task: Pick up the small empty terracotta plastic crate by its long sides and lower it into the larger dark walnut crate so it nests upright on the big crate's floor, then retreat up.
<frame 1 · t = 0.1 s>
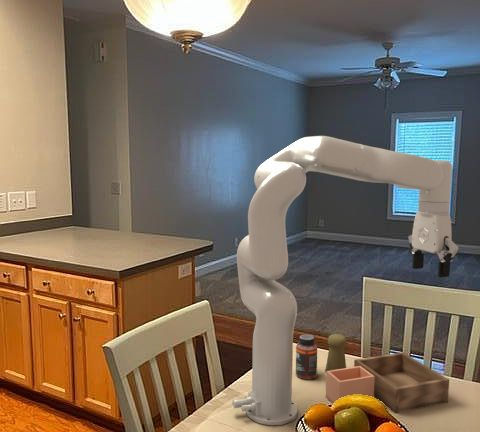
hand: (430, 272, 128), 31 cm above the table, fingers open, 9 cm apart
small crate: (349, 400, 123), on the table
olive green pawn: (335, 373, 139), on the table
supplement bottle: (306, 376, 137), on the table
big crate: (398, 390, 128), on the table
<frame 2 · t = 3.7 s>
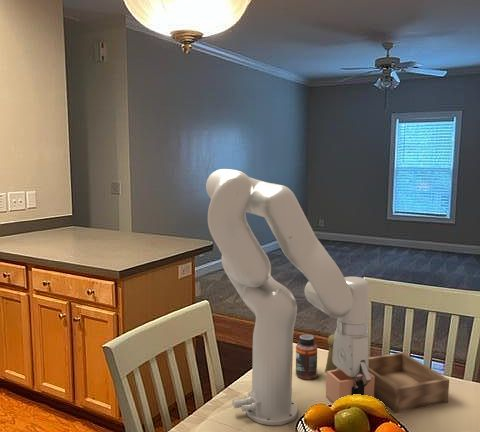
hand: (349, 394, 123), 1 cm above the table, fingers closed on small crate, 6 cm apart
small crate: (349, 400, 123), on the table, touching gripper
everything else where it was.
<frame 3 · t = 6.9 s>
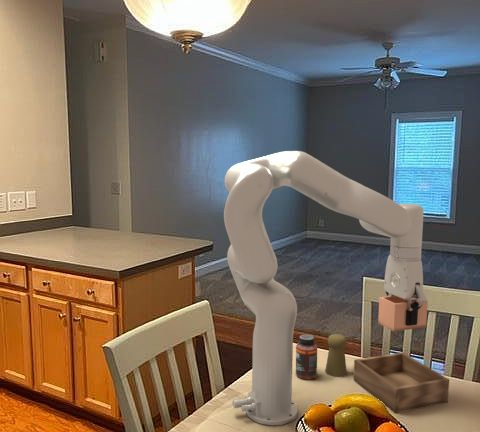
hand: (402, 319, 126), 19 cm above the table, fingers closed on small crate, 6 cm apart
small crate: (401, 325, 126), point 18 cm above the table, touching gripper
everything else where it was.
when the fingers open (5 cm above the table, at t = 10.4 s): small crate drops 3 cm, resting on big crate.
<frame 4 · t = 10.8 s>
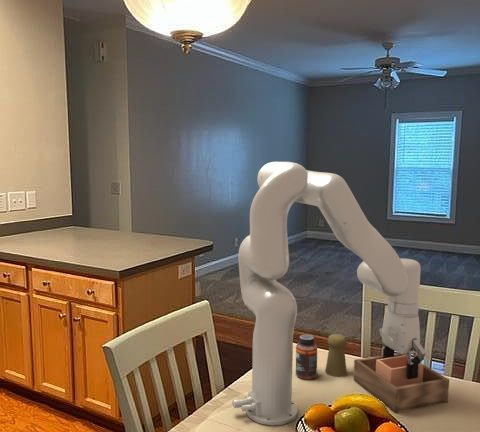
hand: (399, 370, 127), 6 cm above the table, fingers open, 9 cm apart
small crate: (398, 387, 128), point 1 cm above the table, touching big crate
everything else where it was.
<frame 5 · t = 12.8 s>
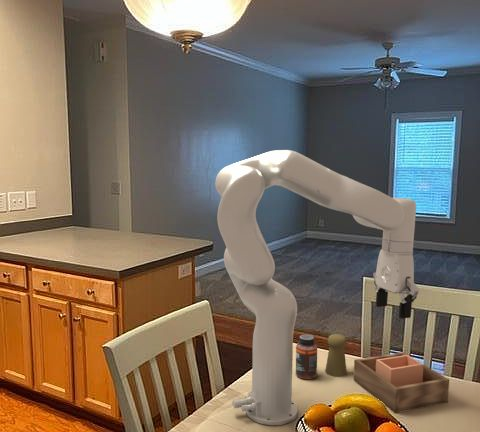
hand: (392, 311, 125), 22 cm above the table, fingers open, 9 cm apart
nothing on the table moved.
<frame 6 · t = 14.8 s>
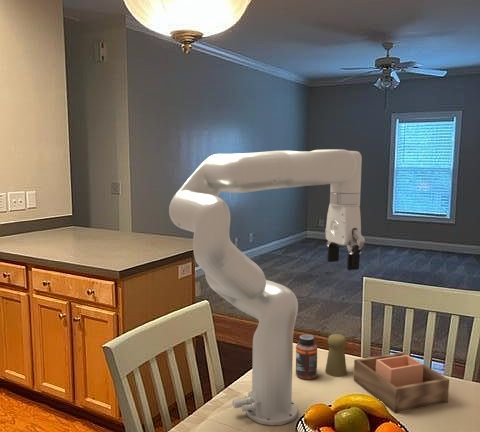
hand: (342, 265, 126), 33 cm above the table, fingers open, 9 cm apart
nothing on the table moved.
at the end: small crate inside the target area on the big crate (0.1 cm from its centre), point 1.0 cm above the big crate's base; small crate tilted 0°; the gripper is holding nothing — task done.
